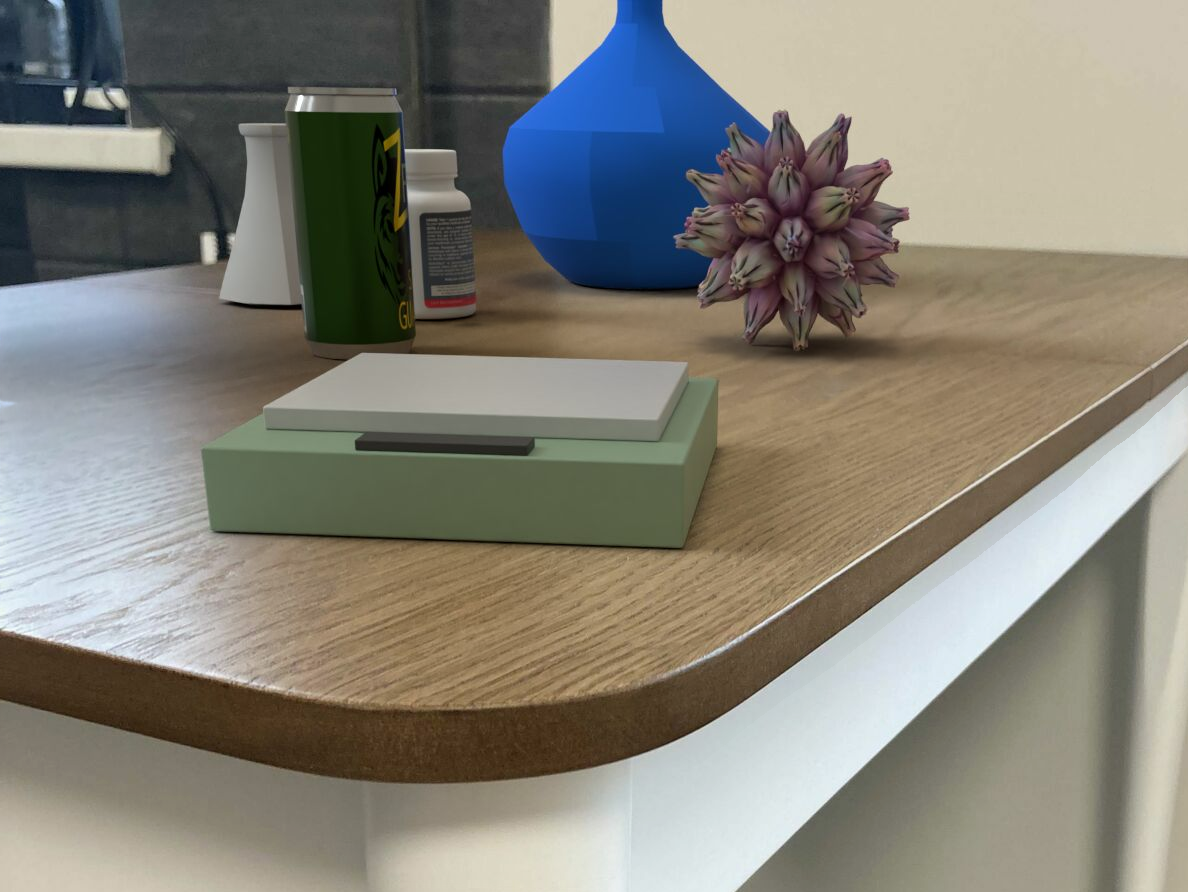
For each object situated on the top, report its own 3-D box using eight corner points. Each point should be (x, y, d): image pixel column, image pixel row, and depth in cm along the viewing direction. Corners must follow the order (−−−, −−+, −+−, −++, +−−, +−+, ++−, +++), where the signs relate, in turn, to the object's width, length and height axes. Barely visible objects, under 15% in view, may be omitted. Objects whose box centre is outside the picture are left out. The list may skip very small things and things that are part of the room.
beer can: (308, 362, 72) (284, 86, 67) (304, 345, 77) (281, 86, 72) (422, 358, 73) (406, 88, 68) (411, 342, 78) (395, 88, 73)
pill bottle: (488, 310, 90) (481, 149, 86) (460, 322, 85) (451, 152, 81) (403, 307, 90) (393, 147, 87) (370, 318, 86) (358, 150, 82)
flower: (923, 374, 80) (822, 354, 70) (732, 343, 86) (613, 320, 76) (968, 145, 78) (869, 91, 67) (767, 128, 83) (649, 75, 73)
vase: (453, 277, 105) (439, -33, 97) (654, 262, 116) (655, -16, 109) (622, 305, 93) (620, -47, 85) (827, 285, 104) (842, -27, 96)
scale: (209, 531, 44) (196, 422, 43) (348, 433, 57) (342, 347, 56) (683, 549, 43) (684, 437, 42) (717, 445, 56) (719, 358, 55)
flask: (197, 303, 90) (176, 123, 86) (277, 291, 96) (261, 122, 92) (293, 312, 88) (276, 126, 84) (370, 299, 94) (357, 124, 90)
